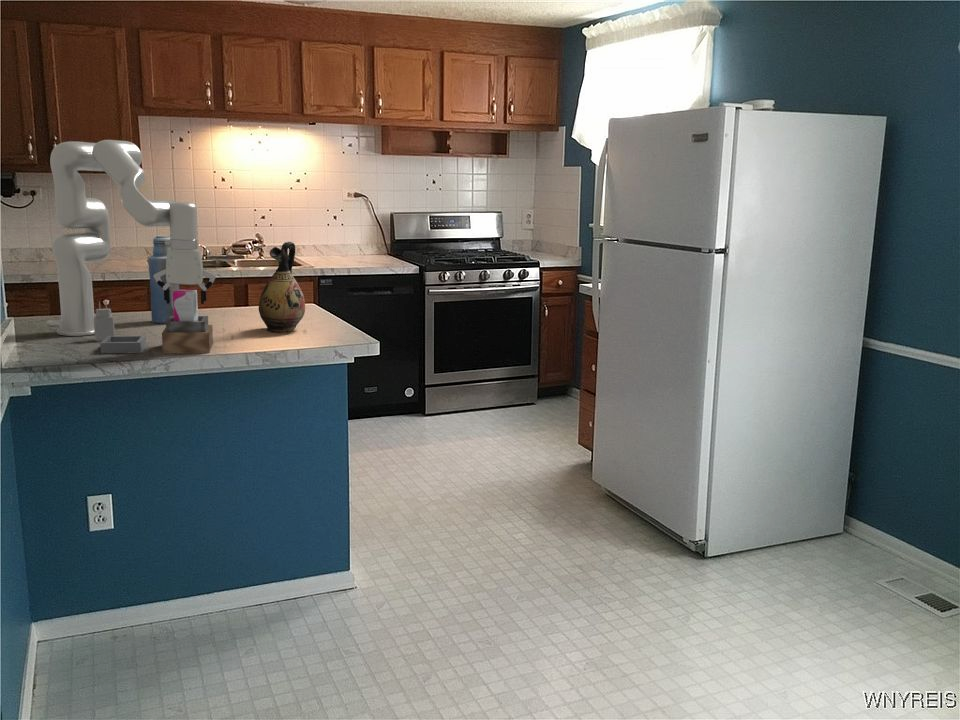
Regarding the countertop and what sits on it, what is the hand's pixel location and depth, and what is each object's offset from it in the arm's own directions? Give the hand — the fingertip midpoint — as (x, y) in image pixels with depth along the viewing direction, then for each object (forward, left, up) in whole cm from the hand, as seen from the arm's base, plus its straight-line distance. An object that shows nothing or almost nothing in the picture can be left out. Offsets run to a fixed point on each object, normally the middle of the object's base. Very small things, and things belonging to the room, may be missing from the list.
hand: (185, 303), depth 243 cm
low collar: (-18, 0, -14) cm, 22 cm away
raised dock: (0, 0, -14) cm, 14 cm away
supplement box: (0, 0, -8) cm, 8 cm away
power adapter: (-26, +15, -14) cm, 33 cm away
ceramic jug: (+28, +30, -14) cm, 43 cm away
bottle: (-12, +47, -14) cm, 50 cm away
